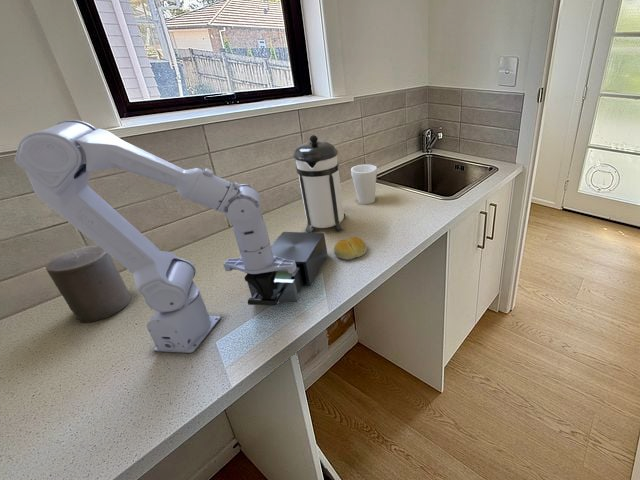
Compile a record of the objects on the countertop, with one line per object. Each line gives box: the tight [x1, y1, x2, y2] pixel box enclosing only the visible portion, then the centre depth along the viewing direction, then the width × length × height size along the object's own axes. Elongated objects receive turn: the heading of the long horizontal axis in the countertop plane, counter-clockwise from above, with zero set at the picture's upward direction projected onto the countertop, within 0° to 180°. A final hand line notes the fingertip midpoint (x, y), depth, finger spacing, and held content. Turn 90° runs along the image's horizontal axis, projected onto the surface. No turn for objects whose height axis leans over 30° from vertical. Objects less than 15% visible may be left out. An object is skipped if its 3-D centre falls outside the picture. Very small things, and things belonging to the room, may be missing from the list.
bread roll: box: [333, 236, 368, 260], centre depth 96 cm, size 8×9×4 cm
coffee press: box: [293, 134, 346, 233], centre depth 106 cm, size 17×16×30 cm
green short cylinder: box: [275, 271, 292, 279], centre depth 80 cm, size 5×5×3 cm
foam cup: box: [350, 163, 378, 205], centre depth 125 cm, size 10×9×13 cm
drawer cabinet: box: [270, 231, 329, 288], centre depth 88 cm, size 14×12×8 cm
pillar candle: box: [45, 245, 132, 323], centre depth 73 cm, size 10×10×15 cm
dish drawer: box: [247, 264, 306, 307], centre depth 79 cm, size 17×10×6 cm, turn 177°
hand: (268, 296), depth 74 cm, fingers closed, pressing on dish drawer
